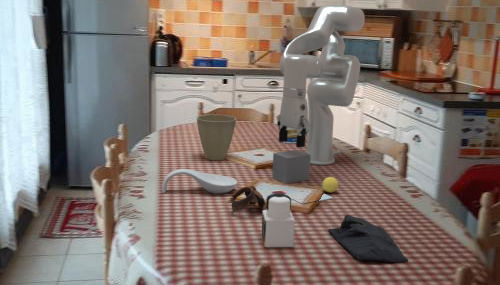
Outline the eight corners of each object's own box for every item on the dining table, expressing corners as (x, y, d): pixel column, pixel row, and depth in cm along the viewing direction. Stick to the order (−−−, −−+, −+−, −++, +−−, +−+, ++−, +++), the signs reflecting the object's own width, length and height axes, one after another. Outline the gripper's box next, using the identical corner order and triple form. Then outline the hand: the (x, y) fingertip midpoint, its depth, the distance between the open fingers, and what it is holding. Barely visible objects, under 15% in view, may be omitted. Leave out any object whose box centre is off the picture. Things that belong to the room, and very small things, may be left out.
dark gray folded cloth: (348, 266, 128) (349, 247, 127) (325, 230, 149) (326, 213, 148) (413, 265, 129) (414, 246, 128) (381, 229, 151) (383, 212, 150)
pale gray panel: (312, 189, 182) (312, 188, 182) (333, 198, 174) (333, 197, 173) (282, 195, 175) (282, 194, 175) (302, 204, 167) (302, 203, 167)
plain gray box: (295, 174, 199) (296, 149, 197) (309, 179, 192) (310, 154, 190) (272, 177, 193) (273, 153, 191) (285, 183, 187) (286, 158, 185)
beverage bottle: (302, 141, 250) (304, 96, 245) (293, 144, 243) (295, 99, 238) (285, 138, 254) (287, 95, 250) (276, 142, 247) (278, 97, 243)
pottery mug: (268, 219, 156) (255, 196, 152) (238, 230, 158) (225, 208, 155) (270, 195, 166) (258, 174, 163) (242, 206, 169) (229, 185, 166)
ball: (330, 189, 183) (331, 174, 181) (341, 193, 179) (342, 178, 177) (318, 191, 180) (319, 176, 179) (329, 195, 176) (330, 180, 175)
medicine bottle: (261, 236, 142) (262, 191, 140) (289, 236, 143) (291, 191, 140) (264, 247, 136) (266, 200, 133) (293, 247, 136) (295, 200, 133)
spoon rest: (235, 185, 185) (235, 164, 183) (239, 197, 173) (239, 174, 172) (162, 186, 181) (162, 165, 180) (161, 198, 170) (161, 175, 168)
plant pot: (212, 165, 207) (212, 122, 203) (189, 157, 218) (189, 116, 214) (243, 159, 217) (244, 118, 213) (219, 151, 228) (219, 112, 224)
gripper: (320, 96, 181) (316, 148, 184) (287, 90, 195) (285, 138, 198) (301, 97, 177) (298, 150, 180) (270, 91, 191) (267, 140, 194)
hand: (291, 144), depth 189 cm, fingers open, 9 cm apart
